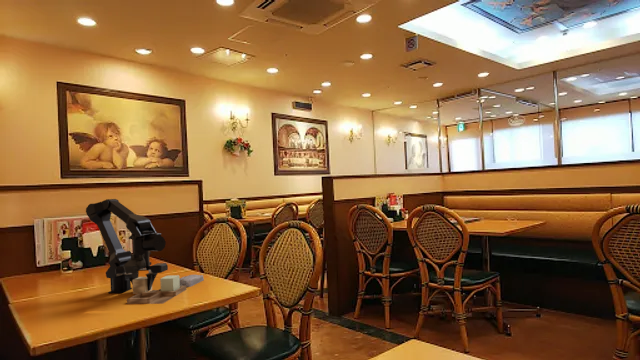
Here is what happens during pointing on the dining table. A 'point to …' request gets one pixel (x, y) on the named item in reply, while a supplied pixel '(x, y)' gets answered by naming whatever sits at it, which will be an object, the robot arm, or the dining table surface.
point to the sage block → (170, 283)
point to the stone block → (190, 280)
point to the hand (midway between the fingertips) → (142, 290)
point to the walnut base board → (154, 296)
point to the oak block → (140, 285)
